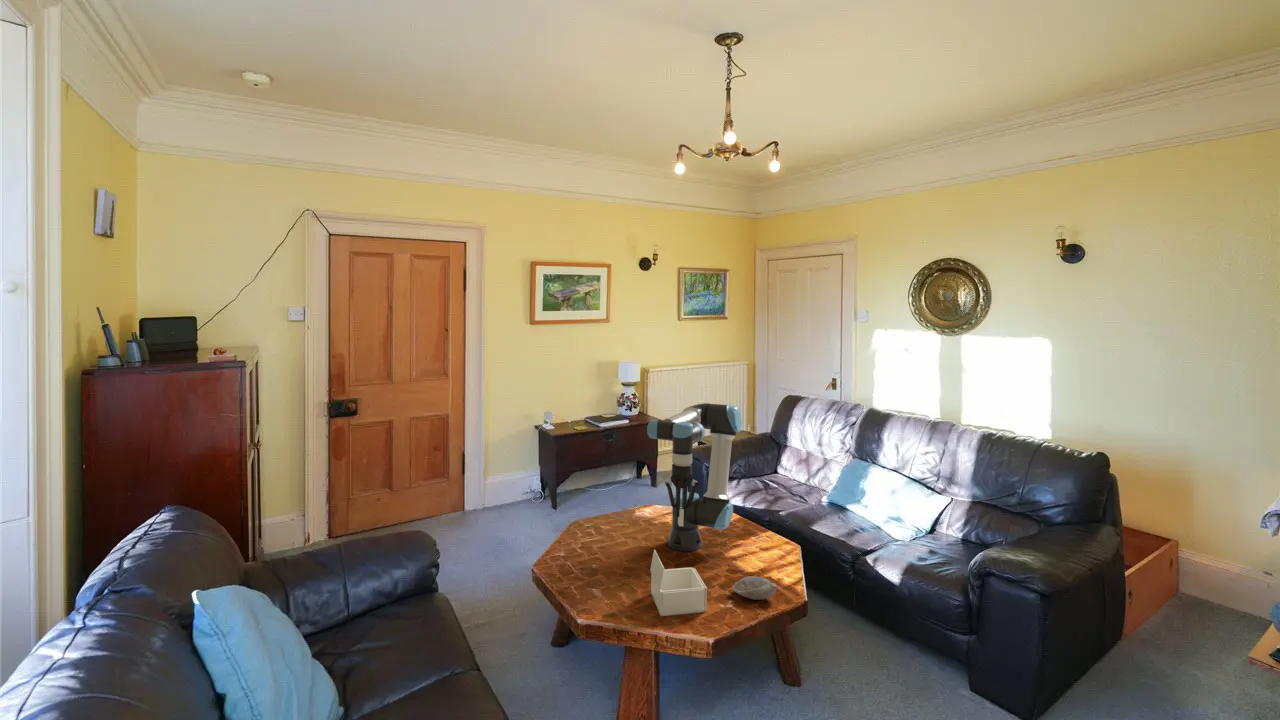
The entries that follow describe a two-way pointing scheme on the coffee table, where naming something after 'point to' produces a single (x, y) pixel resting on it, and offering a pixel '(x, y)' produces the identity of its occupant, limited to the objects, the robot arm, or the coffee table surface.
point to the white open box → (679, 592)
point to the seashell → (755, 588)
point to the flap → (657, 569)
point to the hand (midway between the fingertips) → (680, 524)
